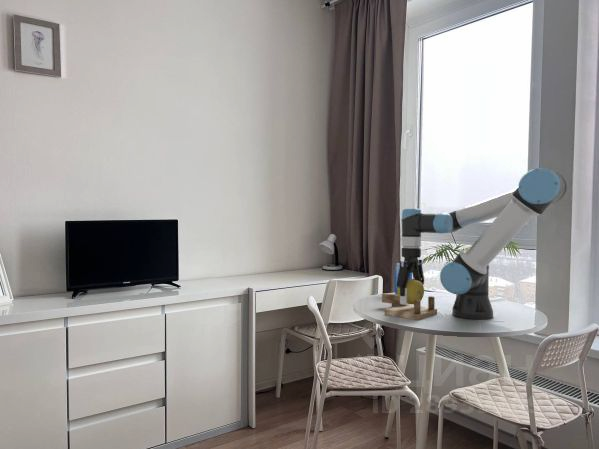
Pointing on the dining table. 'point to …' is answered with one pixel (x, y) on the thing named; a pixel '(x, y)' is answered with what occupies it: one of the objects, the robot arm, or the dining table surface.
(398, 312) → the stool seat
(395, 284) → the beer can
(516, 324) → the dining table surface
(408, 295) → the fruit
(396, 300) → the hinge leg
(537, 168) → the robot arm
